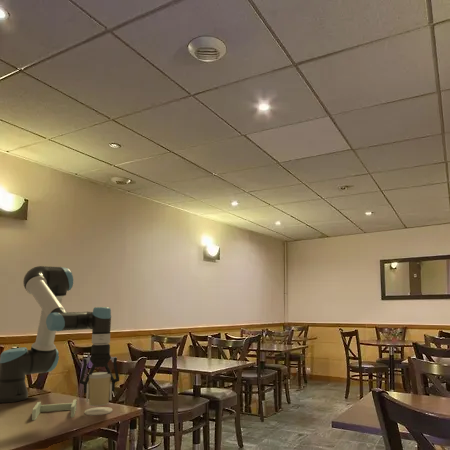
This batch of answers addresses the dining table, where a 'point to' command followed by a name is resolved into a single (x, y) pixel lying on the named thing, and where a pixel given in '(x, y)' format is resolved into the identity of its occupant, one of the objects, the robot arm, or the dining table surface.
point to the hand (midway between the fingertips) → (98, 400)
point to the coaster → (98, 411)
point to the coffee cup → (99, 388)
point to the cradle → (53, 408)
